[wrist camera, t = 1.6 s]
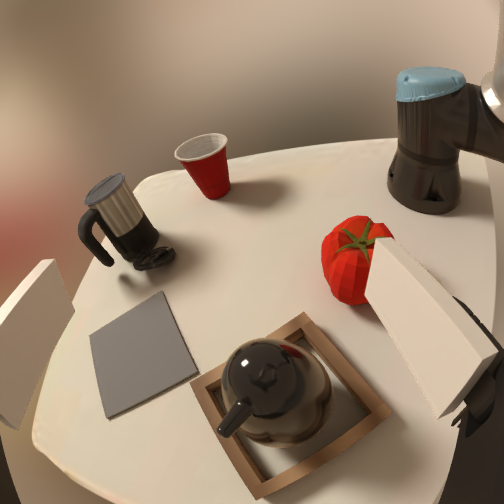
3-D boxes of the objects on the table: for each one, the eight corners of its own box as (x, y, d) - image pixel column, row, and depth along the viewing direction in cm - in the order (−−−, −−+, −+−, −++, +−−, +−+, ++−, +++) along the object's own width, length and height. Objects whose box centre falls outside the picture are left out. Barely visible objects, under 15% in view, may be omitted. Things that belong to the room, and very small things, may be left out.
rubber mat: (162, 291, 44) (161, 290, 44) (198, 372, 33) (197, 371, 33) (90, 336, 41) (89, 335, 41) (107, 418, 30) (106, 418, 30)
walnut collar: (305, 321, 34) (303, 311, 32) (387, 415, 23) (392, 412, 22) (198, 388, 31) (189, 382, 30) (261, 497, 20) (256, 500, 19)
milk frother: (132, 230, 59) (99, 178, 48) (193, 222, 54) (161, 159, 44) (106, 281, 50) (60, 228, 39) (169, 280, 45) (123, 214, 35)
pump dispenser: (226, 427, 27) (154, 396, 16) (268, 354, 32) (228, 282, 22) (308, 464, 22) (289, 472, 11) (347, 381, 27) (358, 320, 17)
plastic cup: (232, 207, 54) (212, 154, 46) (187, 207, 58) (164, 161, 50) (249, 176, 61) (234, 128, 52) (207, 178, 65) (190, 135, 56)
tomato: (343, 243, 41) (341, 198, 35) (407, 271, 35) (418, 225, 29) (304, 294, 37) (295, 250, 31) (374, 331, 31) (384, 292, 24)
